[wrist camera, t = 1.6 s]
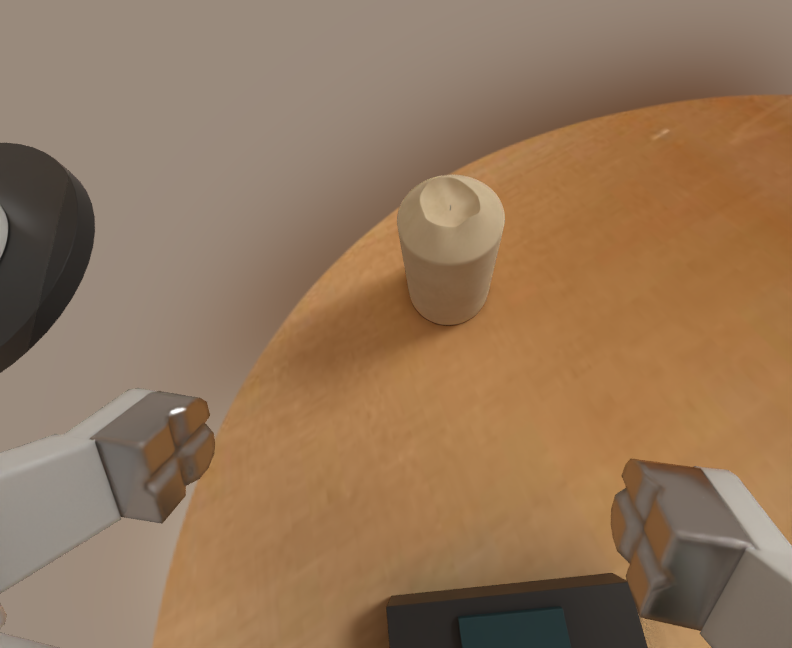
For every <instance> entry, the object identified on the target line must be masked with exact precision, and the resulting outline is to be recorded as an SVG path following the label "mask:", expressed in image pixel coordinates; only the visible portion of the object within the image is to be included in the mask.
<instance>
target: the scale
mask: <svg viewBox="0 0 792 648" xmlns="http://www.w3.org/2000/svg"><path fill="white" fill-rule="evenodd" d="M386 610H387V622H388V633H389V645H390V648H648V647H647V644H646V640H645V637H644V633H643V629H642V626H641V622H640V619H639V615H638V611H637V608H636V605H635V602H634V599H633V596H632V593H631V590H630V587H629V584H628V582H627V581H626V580H624V579H622V578H620V577H619V576H617V575H615V574H613V573H608V574H598V575H588V576H579V577H569V578H559V579H550V580H540V581H531V582H521V583H511V584H502V585H492V586H482V587H473V588H463V589H453V590H444V591H434V592H425V593H415V594H405V595H396V596H391V598H390V600H389V602H388V605H387V607H386Z"/></svg>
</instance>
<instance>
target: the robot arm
mask: <svg viewBox="0 0 792 648" xmlns="http://www.w3.org/2000/svg"><path fill="white" fill-rule="evenodd" d="M7 237H8V221H7V217H6V214H5V211H4V210H3V208H2V207H1V206H0V258H1V256H2V254H3V251H4V249H5V246H6V242H7ZM209 416H210V413H209V409H208V405H207V402H206V401H204V400H203V399H201V398H198V397H192V396H186V395H179V394H174V393H168V392H161V391H153V390H147V389H141V388H135V389H129V390H127V391H125V392H124V393H123V394H121V395H120V396H118V397H117V398H115V399H114V400H112V401H111V402H110V403H108V404H107V405H105V406H104V407H102V408H101V409H100V410H98V411H97V412H95V413H94V414H92V415H91V416H89V417H88V418H87V419H85V420H84V421H82V422H81V423H79V424H78V425H76V426H75V427H74V428H72V429H71V430H69V431H68V432H66V433H65V434H64V435H58V434H54V435H51V436H48V437H45V438H42V439H40V440H36V441H33V442H30V443H27V444H24V445H22V446H19V447H16V448H13V449H10V450H7V451H4V452H1V453H0V594H1V593H2V592H4V591H5V590H7V589H9V588H10V587H12V586H14V585H15V584H17V583H18V582H20V581H22V580H23V579H25V578H27V577H28V576H30V575H31V574H33V573H35V572H36V571H38V570H40V569H41V568H43V567H45V566H46V565H48V564H49V563H51V562H53V561H54V560H56V559H57V558H59V557H61V556H62V555H64V554H66V553H67V552H69V551H71V550H72V549H74V548H75V547H77V546H79V545H80V544H82V543H83V542H85V541H87V540H88V539H90V538H92V537H93V536H95V535H97V534H98V533H100V532H101V531H103V530H105V529H106V528H108V527H110V526H111V525H113V524H114V523H116V522H118V521H119V520H121V517H126V518H131V519H137V520H144V521H150V522H156V523H163V522H164V521H165V520H166V518H167V517H168V516H169V515H170V514H171V513H172V511H173V510H174V509H175V508H176V507H177V505H178V504H179V503H180V502H181V500H182V499H183V498H184V497H185V495H186V485H188V484H190V483H192V482H194V481H196V480H198V479H200V478H201V477H202V475H203V474H204V473H205V472H206V470H207V469H208V468H209V465H210V463H211V460H212V458H213V456H214V451H215V439H214V433H213V432H212V431H211V429H210V428H209V427H208V426H207V425H206V424H205V422H206V421H207V419H208V418H209ZM622 478H623V480H624V483H625V485H626V488H625V489H623V490H622V491H620V492H619V493H617V494H616V495H615V497H614V501H613V505H612V508H611V529H612V535H613V540H614V543H615V546H616V549H617V551H618V552H619V553H620V554H621V555H622V556H623V557H624V558H625V559H626V560H627V561H628V562H629V563H630V566H629V568H628V571H627V574H626V579H627V582H628V584H629V587H630V590H631V593H632V596H633V599H634V602H635V605H636V608H637V611H638V613H639V616H640V617H641V618H646V619H650V620H655V621H659V622H664V623H668V624H673V625H677V626H682V627H686V628H691V629H695V630H699V631H701V632H700V634H701V636H702V637H703V638H704V639H705V640H706V641H707V642H708V644H709V645H710V646H711V647H712V648H792V546H791V544H790V543H789V542H788V541H787V539H786V538H785V537H784V535H783V534H782V533H781V532H780V530H779V529H778V528H777V527H776V525H775V524H774V523H773V521H772V520H771V519H770V518H769V516H768V515H767V514H766V512H765V511H764V510H763V509H762V507H761V506H760V505H759V503H758V502H757V501H756V500H755V498H754V497H753V496H752V494H751V493H750V492H749V491H748V489H747V488H746V487H745V486H744V484H743V483H742V482H741V480H740V479H739V478H738V477H737V476H736V475H735V474H733V473H732V472H730V471H729V470H722V469H714V468H705V467H697V466H694V467H690V466H682V465H675V464H668V463H660V462H653V461H645V460H638V459H630V460H629V461H628V462H627V463H626V465H625V467H624V470H623V473H622ZM6 616H7V614H6V613H5V611H4V609H3V607H2V606H1V604H0V628H1V627H2V626H3V625H4V624H5V621H6ZM0 648H58V647H55V646H51V645H47V644H43V643H39V642H35V641H31V640H28V639H24V638H20V637H16V636H12V635H9V634H5V633H1V632H0Z"/></svg>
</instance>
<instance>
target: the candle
mask: <svg viewBox="0 0 792 648" xmlns="http://www.w3.org/2000/svg"><path fill="white" fill-rule="evenodd" d="M504 222H505V215H504V209H503V206H502V203H501V201H500V199H499V198H498V196H497V195H496V193H495V192H494V191H493V190H492V189H491V188H489V187H488V186H487V185H485V184H484V183H482V182H480V181H478V180H476V179H474V178H471V177H467V176H462V175H443V176H438V177H434V178H431V179H428V180H426V181H424V182H422V183H420V184H419V185H417V186H416V187H415V188H413V189H412V190H411V191H410V192H409V193H408V194H407V196H406V197H405V198H404V200H403V201H402V203H401V205H400V208H399V211H398V216H397V226H398V232H399V238H400V243H401V249H402V255H403V261H404V266H405V272H406V278H407V283H408V289H409V294H410V298H411V301H412V303H413V305H414V307H415V308H416V310H417V311H418V312H419V313H420V314H421V315H422V316H423V317H424V318H426V319H428V320H429V321H432V322H434V323H437V324H442V325H455V324H460V323H463V322H465V321H467V320H469V319H471V318H472V317H474V316H475V315H476V314H477V313H478V312H479V311H480V309H481V308H482V307H483V305H484V303H485V301H486V298H487V295H488V292H489V288H490V283H491V279H492V275H493V271H494V266H495V262H496V258H497V254H498V249H499V245H500V241H501V237H502V232H503V228H504Z"/></svg>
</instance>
